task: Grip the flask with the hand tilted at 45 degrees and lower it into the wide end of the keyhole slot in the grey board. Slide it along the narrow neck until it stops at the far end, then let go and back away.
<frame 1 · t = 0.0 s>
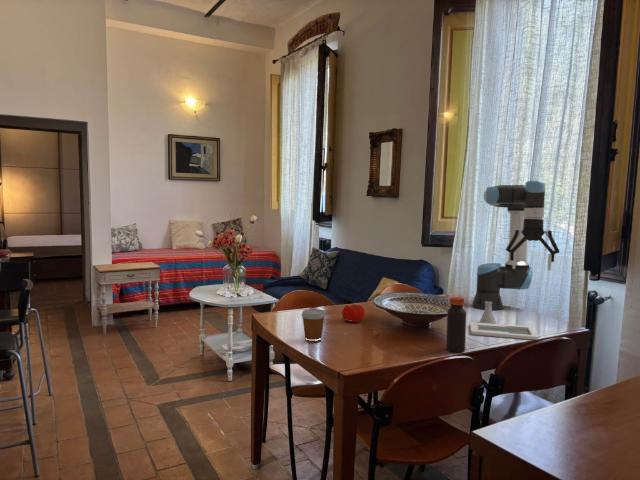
hand: (531, 269, 193), 28 cm above the table, tool pointing down, fingers open, 13 cm apart
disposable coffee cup: (313, 341, 185), on the table
bottle: (455, 350, 174), on the table
keyhole plate: (502, 332, 198), on the table
tomato: (353, 321, 216), on the table
flask: (487, 323, 213), on the table
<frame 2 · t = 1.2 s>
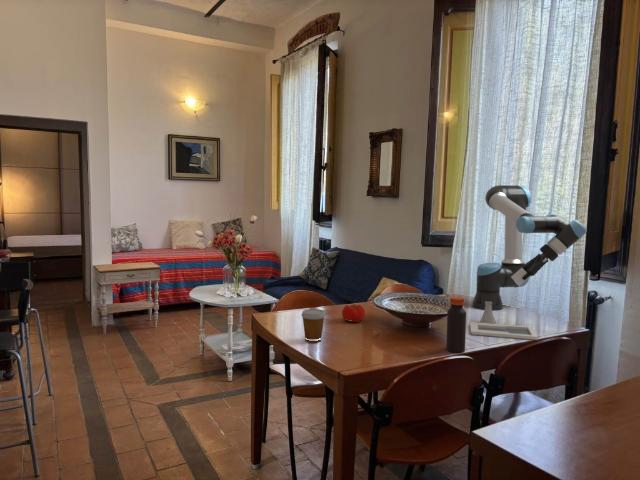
hand: (514, 281, 208), 20 cm above the table, tool tilted 45°, fingers open, 13 cm apart
nothing on the table moved.
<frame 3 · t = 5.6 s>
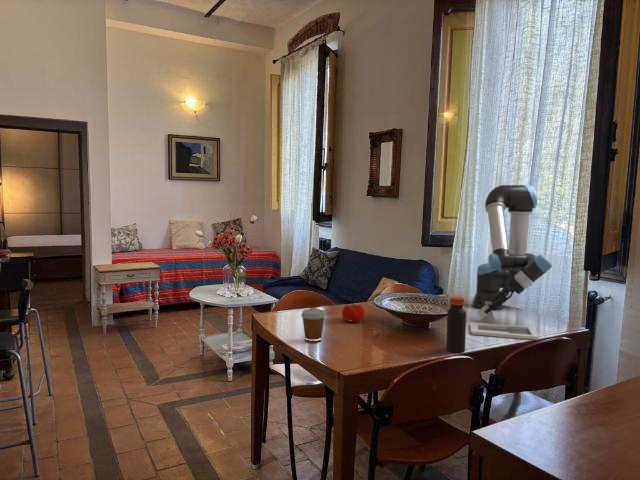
hand: (479, 315, 214), 3 cm above the table, tool tilted 45°, fingers closed on flask, 4 cm apart
flask: (487, 323, 213), on the table, touching gripper
everything else where it was.
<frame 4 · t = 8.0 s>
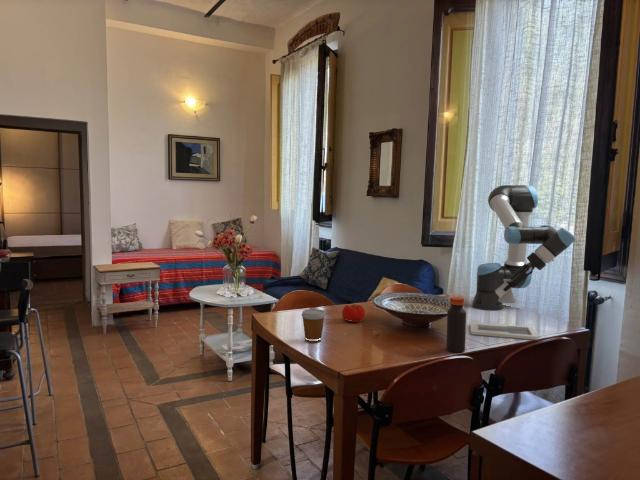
hand: (497, 294, 202), 16 cm above the table, tool tilted 45°, fingers closed on flask, 4 cm apart
flask: (506, 302, 201), point 12 cm above the table, touching gripper
everything else where it was.
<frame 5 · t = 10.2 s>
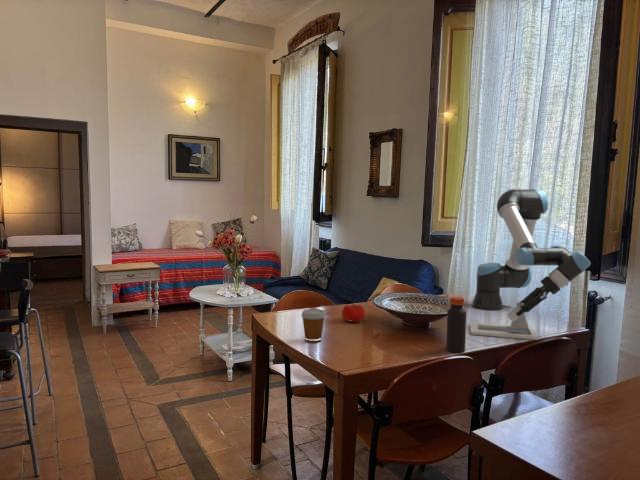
hand: (510, 318, 197), 7 cm above the table, tool tilted 45°, fingers closed on flask, 4 cm apart
flask: (519, 326, 196), point 3 cm above the table, touching gripper
everything else where it was.
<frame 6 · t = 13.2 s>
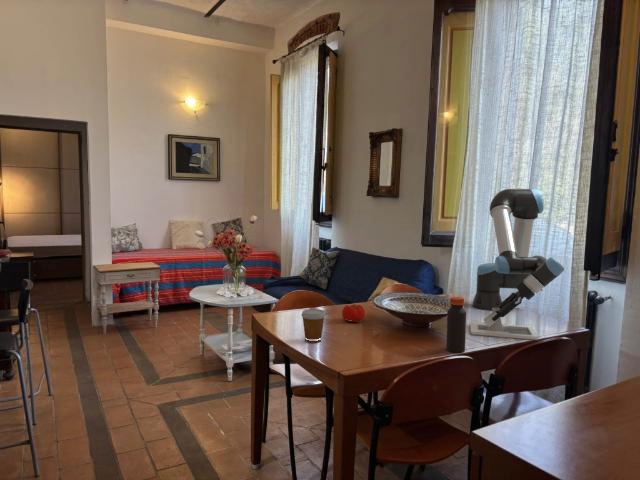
hand: (486, 323, 200), 4 cm above the table, tool tilted 45°, fingers closed on flask, 4 cm apart
flask: (495, 331, 199), on the table, touching gripper
everything else where it was.
when the fingers open (4 cm above the table, at t = 15.0 s): flask stays where it is, resting on keyhole plate.
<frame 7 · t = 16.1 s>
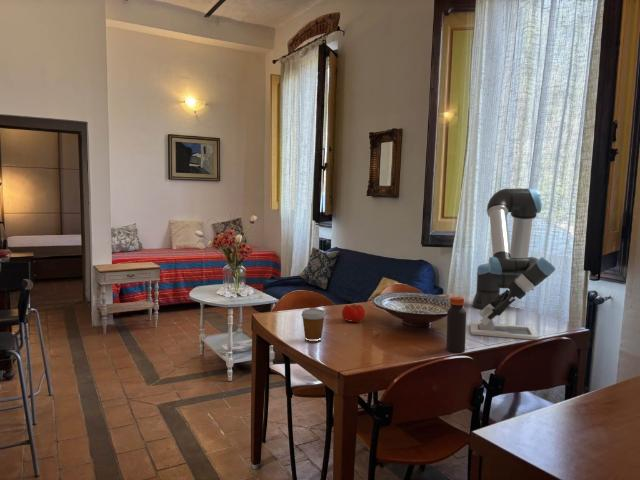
hand: (481, 319, 200), 5 cm above the table, tool tilted 45°, fingers open, 13 cm apart
flask: (486, 330, 200), resting on keyhole plate
everything else where it was.
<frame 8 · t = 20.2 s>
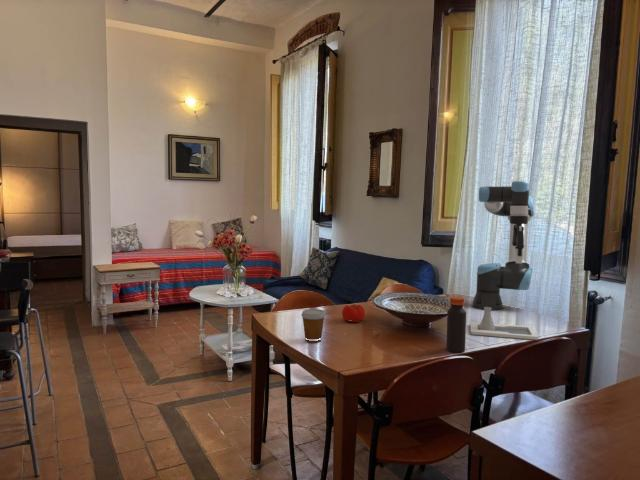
hand: (517, 261, 212), 29 cm above the table, tool pointing down, fingers open, 13 cm apart
nothing on the table moved.
at the end: flask 0.1 cm from the target spot on the keyhole plate, point 0.1 cm above the keyhole plate's base; flask tilted 0°; the gripper is holding nothing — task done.
